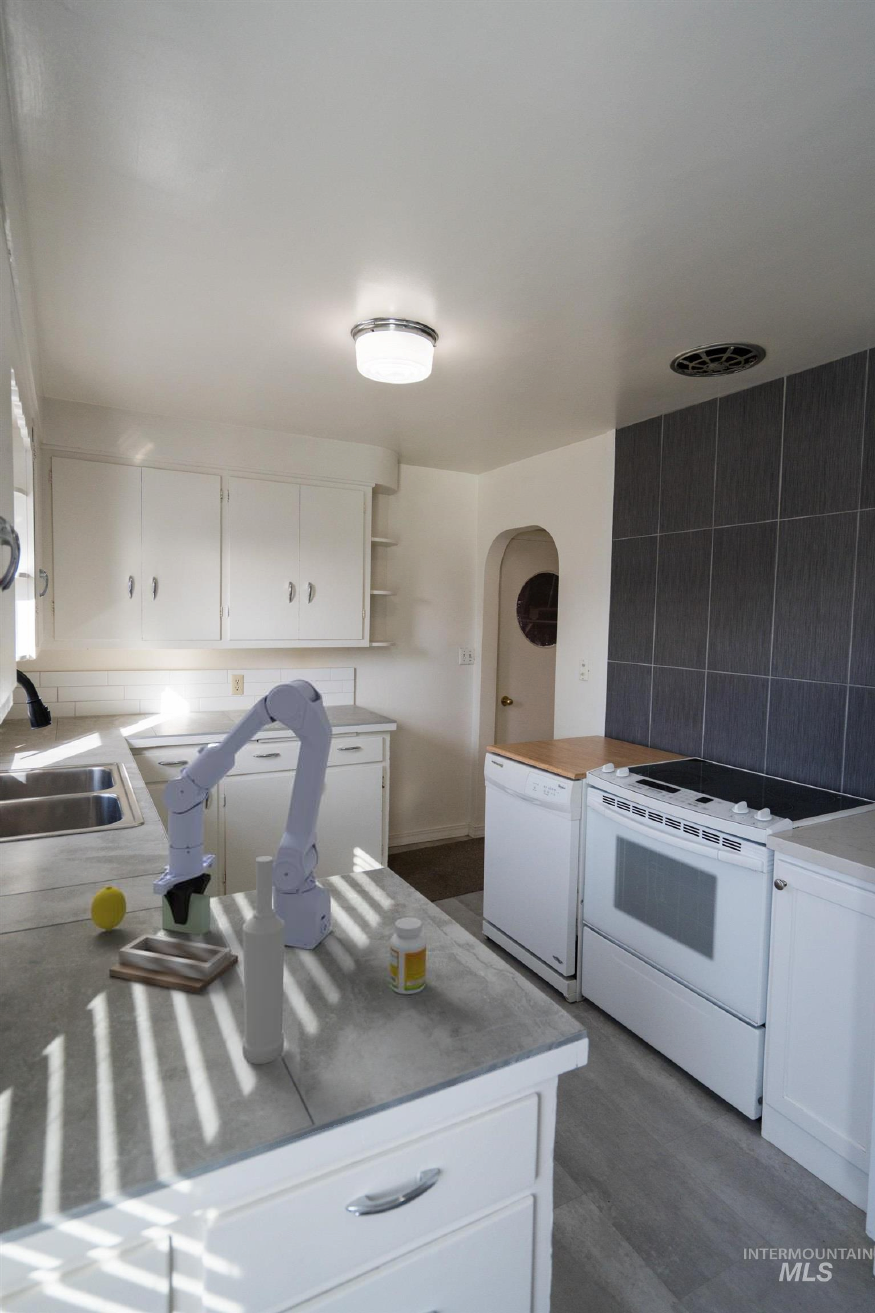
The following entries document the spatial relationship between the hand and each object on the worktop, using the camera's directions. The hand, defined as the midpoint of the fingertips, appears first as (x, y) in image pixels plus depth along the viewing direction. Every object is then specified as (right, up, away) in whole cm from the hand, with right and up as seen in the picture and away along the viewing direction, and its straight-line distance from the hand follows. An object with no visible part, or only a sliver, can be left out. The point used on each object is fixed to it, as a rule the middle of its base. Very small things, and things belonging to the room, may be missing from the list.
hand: (186, 919), depth 122 cm
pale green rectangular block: (0, -2, 0) cm, 2 cm away
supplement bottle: (+40, -4, -17) cm, 43 cm away
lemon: (-13, -2, -1) cm, 13 cm away
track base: (+3, -3, -13) cm, 14 cm away
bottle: (+22, -4, -34) cm, 41 cm away
